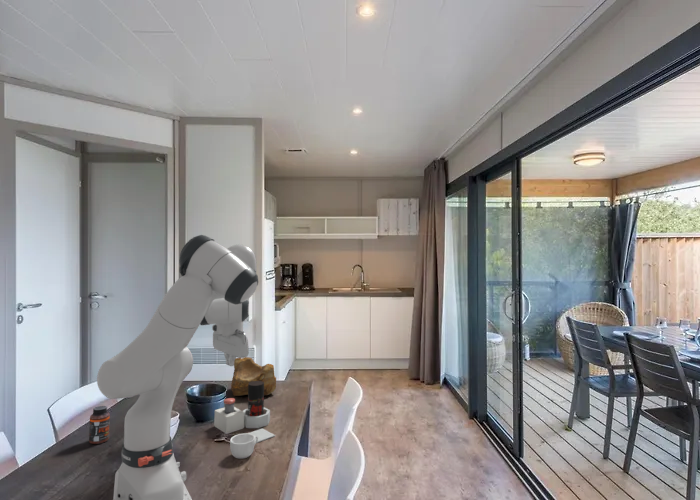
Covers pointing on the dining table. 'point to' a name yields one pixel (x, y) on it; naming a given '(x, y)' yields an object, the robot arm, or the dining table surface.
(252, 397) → the deodorant
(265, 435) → the pad
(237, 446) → the teacup
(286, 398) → the dining table surface
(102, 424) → the supplement bottle
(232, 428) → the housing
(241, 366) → the rough brown rock
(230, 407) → the plunger
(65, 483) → the dining table surface
